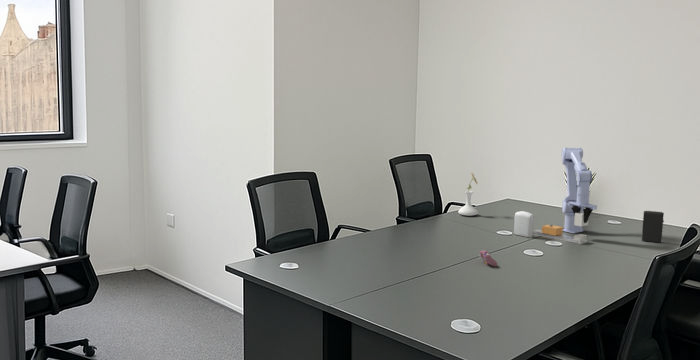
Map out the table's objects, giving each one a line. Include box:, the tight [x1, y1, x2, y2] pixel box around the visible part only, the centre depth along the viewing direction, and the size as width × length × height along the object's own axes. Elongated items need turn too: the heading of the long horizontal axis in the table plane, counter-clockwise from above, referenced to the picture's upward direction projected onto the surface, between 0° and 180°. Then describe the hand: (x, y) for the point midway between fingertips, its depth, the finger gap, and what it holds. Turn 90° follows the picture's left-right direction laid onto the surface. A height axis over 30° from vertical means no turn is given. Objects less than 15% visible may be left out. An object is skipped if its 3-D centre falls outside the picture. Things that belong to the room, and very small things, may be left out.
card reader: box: [641, 210, 665, 244], centre depth 338 cm, size 9×4×15 cm, turn 65°
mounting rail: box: [533, 228, 588, 245], centre depth 344 cm, size 6×29×4 cm, turn 40°
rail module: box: [574, 212, 589, 227], centre depth 342 cm, size 6×4×6 cm, turn 130°
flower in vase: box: [457, 171, 479, 217], centre depth 398 cm, size 13×11×25 cm
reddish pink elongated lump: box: [478, 249, 498, 267], centre depth 293 cm, size 10×5×7 cm, turn 5°
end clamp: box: [541, 224, 564, 236], centre depth 346 cm, size 6×8×4 cm
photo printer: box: [513, 210, 535, 238], centre depth 347 cm, size 10×4×12 cm, turn 39°
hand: (581, 221), depth 342 cm, fingers closed on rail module, 4 cm apart
